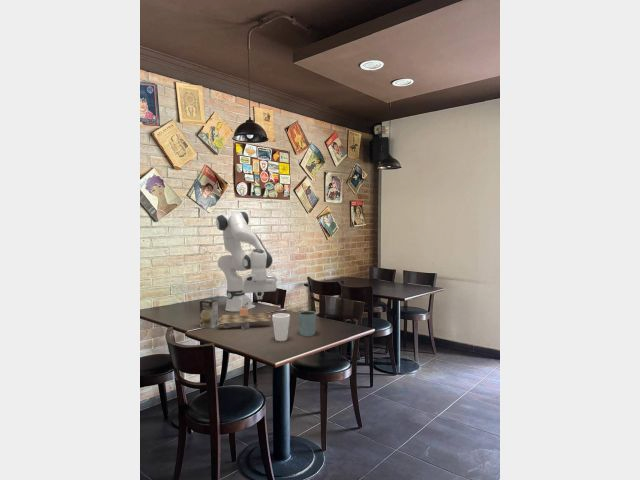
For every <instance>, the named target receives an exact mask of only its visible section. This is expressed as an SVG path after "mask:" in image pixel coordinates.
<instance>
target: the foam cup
mask: <svg viewBox="0 0 640 480" xmlns="http://www.w3.org/2000/svg"><path fill="white" fill-rule="evenodd" d="M290 317H291V315H290V314H289V313H285V312H284V313H282V312H281V313H280V312H279V313H273V314H272V316H271V320H272V326H273V332H274V333H273V334H274V339H275V341H277V342H285V341H287V340H288V337H289V335H288V334H289V327H290V320H291V318H290Z"/></svg>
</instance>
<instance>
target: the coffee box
mask: <svg viewBox="0 0 640 480" xmlns="http://www.w3.org/2000/svg"><path fill="white" fill-rule="evenodd" d="M218 326H219V302H218V299H211V298H204V299H202V300H201V299H200V300H199V327H200V328H207V329H214V328H216V327H218Z"/></svg>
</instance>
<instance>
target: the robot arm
mask: <svg viewBox="0 0 640 480" xmlns="http://www.w3.org/2000/svg"><path fill="white" fill-rule="evenodd" d="M249 223H250V218H249V215H248V213H247V212H246V211H239V212H238V211H237V212H230V213H225V214H220V215H218V216H217V217H216V218H215V225H216V227H217V230H219V231H222V236H223V237H222V239H223V245H224V249H225V250H226V251H228V252H229V253H230V254H226V255H221V256H219V257H218V260H217V267H218V268H219V269H220V270H221V271H222V272H223V274H224V276H225V280H226V288H227V289H226V304H225V309H224V310H225V311H227V312H240V307H243V306H245V307H248V311H249V310H251V309H253V308H256V305H255V304H253V302H252V298H250V297H249V296H248V295H246V294H250V293H251V294H253V293H254V294H255V296H256V298H257V300H263V297H264V294H265V292H276V291H277V281H278V280H277V277H276V276H274V275H267V269H269V268H271V266H272V264H273V257H272V255H271V254H270V252H269V251H267V248H266V247H265V246H264V243H263V241H261V239H260V237H259V236H258V234H257V233H255V232H254V231H252V230H251V228H250V227H249ZM241 243H247V244H249V245H252V246H253V247H254V249H253V250H251V251H250V253H247V254H246V253H245V252H244V250H243V247H242V245H241ZM249 270H251V273H249V274H247V275H245V276H244V277H243V278H242V276H240V275H239V274H238V272H243V271H244V272H245V271H246V272H247V271H249ZM258 293H261V295H258Z"/></svg>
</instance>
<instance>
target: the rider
mask: <svg viewBox="0 0 640 480" xmlns="http://www.w3.org/2000/svg"><path fill="white" fill-rule="evenodd" d="M239 314H240V316H248V314H249V310H248V307H245V306H243V307H240V311H239Z"/></svg>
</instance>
